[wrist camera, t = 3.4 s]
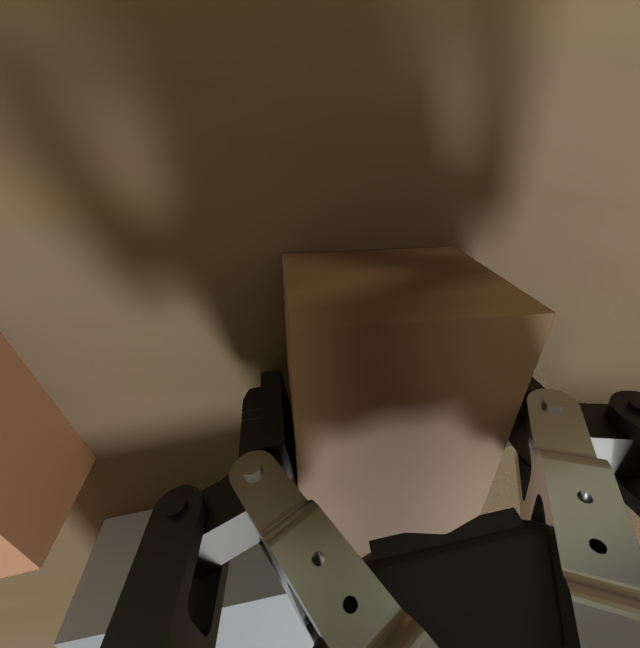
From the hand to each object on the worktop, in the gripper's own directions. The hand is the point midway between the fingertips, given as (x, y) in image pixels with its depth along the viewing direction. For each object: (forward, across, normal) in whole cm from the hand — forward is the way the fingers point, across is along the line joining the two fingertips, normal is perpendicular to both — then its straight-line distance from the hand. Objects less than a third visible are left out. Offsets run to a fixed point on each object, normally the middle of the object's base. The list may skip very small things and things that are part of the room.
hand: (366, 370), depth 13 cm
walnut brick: (+1, 0, 0) cm, 1 cm away
